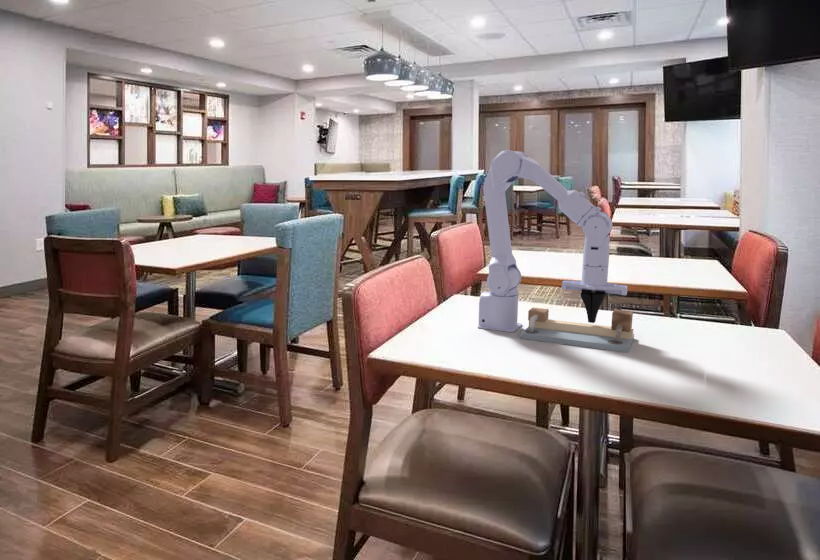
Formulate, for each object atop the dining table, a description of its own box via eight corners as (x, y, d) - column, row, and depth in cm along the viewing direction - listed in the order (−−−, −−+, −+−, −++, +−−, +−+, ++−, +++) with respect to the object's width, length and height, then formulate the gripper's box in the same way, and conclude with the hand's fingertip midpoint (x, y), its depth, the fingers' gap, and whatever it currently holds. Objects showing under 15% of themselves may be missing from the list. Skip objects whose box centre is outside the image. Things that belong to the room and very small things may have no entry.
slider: (608, 340, 129) (609, 316, 128) (613, 332, 136) (614, 309, 135) (627, 343, 127) (628, 318, 126) (631, 334, 134) (632, 311, 133)
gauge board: (520, 338, 136) (521, 316, 135) (534, 326, 146) (534, 305, 145) (627, 352, 125) (629, 328, 124) (633, 338, 136) (635, 316, 135)
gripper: (560, 265, 133) (557, 321, 135) (626, 270, 126) (621, 329, 129) (566, 261, 139) (563, 315, 141) (630, 265, 132) (625, 322, 135)
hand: (591, 321), depth 135 cm, fingers closed
